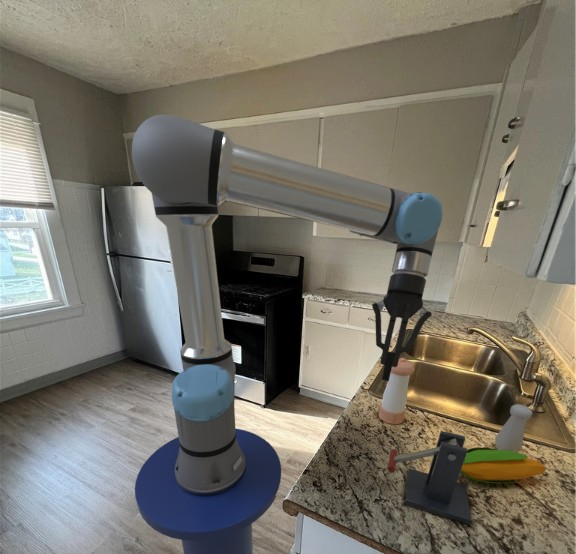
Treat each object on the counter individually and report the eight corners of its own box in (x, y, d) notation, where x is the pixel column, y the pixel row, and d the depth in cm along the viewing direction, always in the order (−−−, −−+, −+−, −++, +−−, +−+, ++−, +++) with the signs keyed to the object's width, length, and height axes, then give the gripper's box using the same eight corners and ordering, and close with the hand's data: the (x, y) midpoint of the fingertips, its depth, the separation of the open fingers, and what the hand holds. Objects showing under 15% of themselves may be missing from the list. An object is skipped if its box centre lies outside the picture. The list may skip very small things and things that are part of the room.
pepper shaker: (406, 415, 95) (419, 357, 86) (400, 427, 89) (414, 366, 81) (382, 407, 98) (392, 351, 90) (375, 418, 92) (385, 359, 84)
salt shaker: (518, 460, 78) (538, 417, 72) (492, 452, 80) (509, 409, 75) (517, 447, 82) (536, 405, 77) (492, 439, 85) (508, 398, 79)
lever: (390, 474, 65) (385, 465, 65) (393, 456, 70) (388, 448, 70) (462, 461, 58) (457, 450, 58) (459, 442, 63) (455, 432, 63)
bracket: (404, 504, 65) (419, 447, 58) (407, 472, 73) (420, 419, 67) (469, 525, 61) (493, 466, 54) (464, 488, 69) (484, 434, 63)
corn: (454, 439, 72) (540, 441, 72) (445, 463, 76) (527, 464, 76) (470, 463, 66) (564, 465, 66) (459, 488, 69) (549, 490, 70)
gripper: (436, 282, 71) (412, 383, 74) (378, 275, 74) (357, 372, 77) (443, 277, 64) (416, 388, 67) (378, 268, 67) (356, 375, 70)
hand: (385, 379), depth 72 cm, fingers closed
